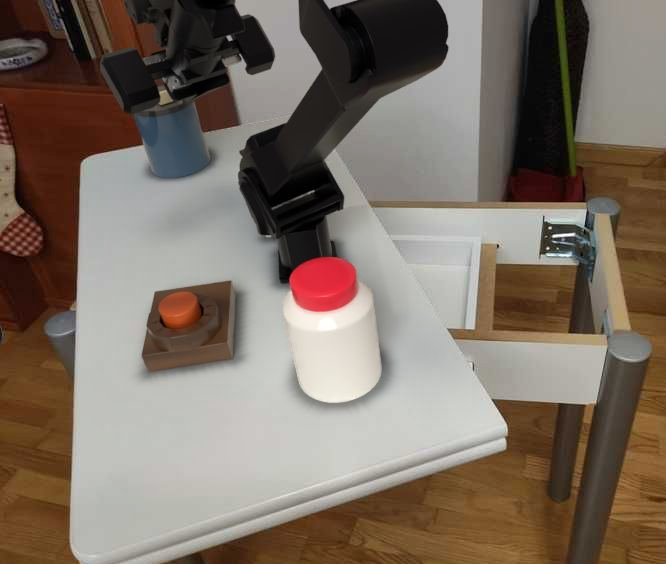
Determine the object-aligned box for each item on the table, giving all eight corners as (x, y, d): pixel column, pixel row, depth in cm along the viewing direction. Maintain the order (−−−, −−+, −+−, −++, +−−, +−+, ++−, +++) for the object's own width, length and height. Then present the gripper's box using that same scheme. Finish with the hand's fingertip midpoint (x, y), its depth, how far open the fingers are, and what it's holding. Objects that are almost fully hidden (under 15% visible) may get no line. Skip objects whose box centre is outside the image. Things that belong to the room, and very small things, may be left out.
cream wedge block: (177, 100, 87) (174, 88, 86) (160, 105, 86) (157, 94, 85) (168, 94, 89) (165, 83, 88) (152, 99, 88) (148, 88, 87)
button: (200, 326, 61) (195, 312, 60) (161, 332, 61) (155, 318, 60) (203, 303, 64) (198, 289, 63) (166, 308, 64) (160, 294, 63)
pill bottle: (372, 406, 57) (359, 308, 50) (287, 399, 58) (262, 303, 51) (388, 346, 63) (378, 250, 55) (310, 341, 64) (291, 247, 57)
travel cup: (223, 163, 94) (205, 95, 88) (164, 185, 91) (141, 116, 84) (196, 144, 100) (177, 79, 93) (140, 164, 96) (116, 98, 90)
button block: (232, 361, 63) (222, 330, 60) (148, 374, 62) (134, 343, 60) (236, 296, 70) (227, 265, 68) (160, 307, 70) (148, 277, 67)
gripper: (241, -65, 71) (220, 22, 85) (69, -27, 63) (77, 62, 77) (291, 26, 71) (262, 98, 86) (127, 75, 63) (125, 146, 78)
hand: (184, 99), depth 81 cm, fingers closed
